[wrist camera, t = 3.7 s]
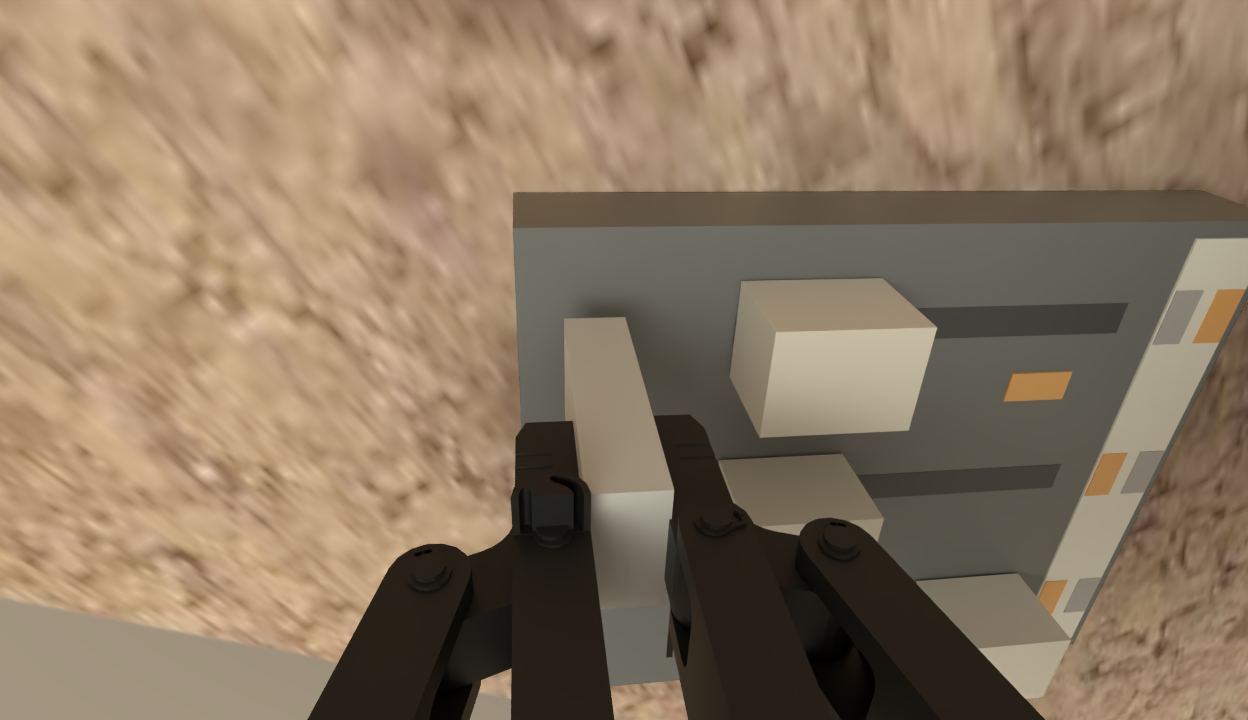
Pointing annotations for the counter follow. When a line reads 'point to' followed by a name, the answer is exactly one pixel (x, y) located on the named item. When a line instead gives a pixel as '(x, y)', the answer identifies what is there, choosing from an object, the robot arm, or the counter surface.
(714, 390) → the switch panel
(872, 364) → the front switch
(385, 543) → the counter surface
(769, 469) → the middle switch
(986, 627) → the back switch
